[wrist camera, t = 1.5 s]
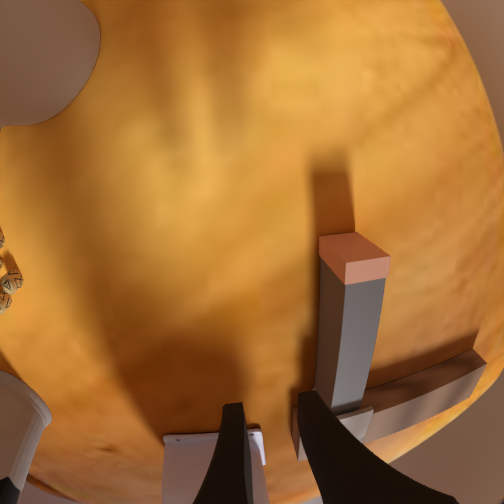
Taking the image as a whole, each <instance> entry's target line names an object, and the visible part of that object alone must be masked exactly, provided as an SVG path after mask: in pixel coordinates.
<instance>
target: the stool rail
mask: <svg viewBox="0 0 504 504" xmlns="http://www.w3.org/2000/svg"><path fill="white" fill-rule="evenodd" d="M486 365H487V363H486V362H485V361H484V360H483V359H482V358H481V357H480V355H479V354H478V353H477V352H476V351H475V350H474V349H471V350H469V351H467V352H465V353H463V354H461V355H458V356H456V357H454V358H452V359H449V360H447V361H445V362H442V363H440V364H438V365H435V366H433V367H430V368H428V369H425V370H423V371H420V372H417V373H415V374H412V375H409V376H407V377H404V378H401V379H398V380H395V381H392V382H389V383H386V384H383V385H380V386H377V387H373V388H370V389H367V390H364V394H363V398H362V401H361V405H360V409H359V410H357V411H354V412H350V413H347V414H343V415H339V416H336V417H337V418H338V419H339V420H340V422H341V423H342V424H343V425H344V426H345V427H346V428H347V429H348V430H349V431H350V432H351V433H352V434H353V435H354V436H355V437H356V438H357V439H358V440H359V441H360V442H361V443H362V444H365V443H368V442H371V441H374V440H377V439H380V438H382V437H385V436H388V435H391V434H393V433H396V432H398V431H401V430H403V429H406V428H408V427H410V426H413V425H415V424H417V423H420V422H422V421H424V420H426V419H428V418H431V417H433V416H435V415H437V414H439V413H441V412H443V411H445V410H447V409H449V408H451V407H453V406H455V405H456V404H458V403H460V402H462V401H464V400H465V399H467V398H469V397H470V396H471V394H472V392H473V390H474V388H475V387H476V385H477V383H478V381H479V379H480V377H481V375H482V373H483V371H484V369H485V367H486ZM297 417H298V406H297V407H293V419H292V441H293V444H294V448H295V452H296V455H297V459H298V461H302V460H306V459H307V456H306V454H305V451H304V448H303V445H302V441H301V437H300V433H299V429H298V425H297Z"/></svg>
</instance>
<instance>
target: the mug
mask: <svg viewBox="0 0 504 504" xmlns="http://www.w3.org/2000/svg"><path fill="white" fill-rule="evenodd" d="M100 39H101V37H100V28H99V24H98V22H97V19H96V17H95V16H94V14H93V13H92V12H91V10H90V9H89V8H88V7H87V6H85V5H84V4H83V3H82V2H81V1H80V0H0V130H1V128H2V127H5V126H18V125H33V124H37V123H40V122H43V121H46V120H48V119H50V118H52V117H53V116H55V115H56V114H58V113H59V112H61V111H62V110H63V109H64V108H66V107H67V106H68V105H69V104H70V103H71V102H72V101H73V99H74V98H75V97H76V96H77V95H78V94H79V92H80V91H81V90H82V88H83V87H84V85H85V84H86V82H87V80H88V79H89V77H90V75H91V73H92V71H93V68H94V66H95V63H96V61H97V57H98V54H99V49H100Z"/></svg>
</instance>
